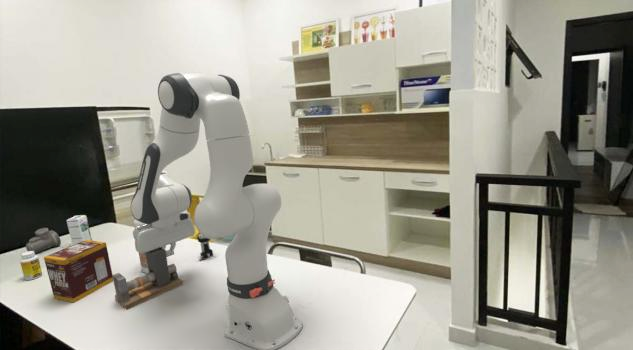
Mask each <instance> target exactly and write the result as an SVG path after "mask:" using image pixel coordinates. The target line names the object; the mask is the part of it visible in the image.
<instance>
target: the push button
mask: <svg viewBox="0 0 633 350" xmlns="http://www.w3.org/2000/svg"><path fill="white" fill-rule="evenodd" d="M196 238H197V242H198V243H200V247H201V252H200V254H199V255H200V256H198V260H199V261H201V260H206V259H208V258H210V257H213V256H214V253H213V252H214V251H213V249H211V247H210V241H211V239H208V238H206V237H204V236H203V235H202V234H201V233H199V235H198V236H197V237H196Z"/></svg>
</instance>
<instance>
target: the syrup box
mask: <svg viewBox="0 0 633 350" xmlns="http://www.w3.org/2000/svg"><path fill="white" fill-rule="evenodd" d="M66 224H67V229H68V233H69V236H70V239H71V240H70V241H71V244H72V245H75V244H77V243H80V242H82V241H84V240H91V241H93V238H92V234H91V231H90V226H89V222H88V217H87V215H86V214H80V215H74V216H73V217H70V218H68V219H66Z"/></svg>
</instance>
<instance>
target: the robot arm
mask: <svg viewBox="0 0 633 350" xmlns="http://www.w3.org/2000/svg"><path fill="white" fill-rule="evenodd" d="M240 95H241V94H240V88H239V85H238V83H237V82H236V81H235V80H234V79H233V78H232V77H230V76H227V75H224V74H212V73H202V72H186V73H185V72H183V73H180V72H176V73H175V72H174V73H170V74H167V75H164V76H163V77H162V78H161V79H160V81H159V84H158V87H157V96H158V97H157V98H158V100H159V104H160V105H161V110H160V118H159V127H158V131H157V134H156V135H155V138H154V139H153V141H152V142H151V143H150V144H149V145H148V146H147V147H146V149H145V152H144V155H143V159H142V163H141V168H140V172H139V176H138V180H137V185H136V189H135V192H134V195H133V197H132V199H131V200H130V201H131V202H130V212H131V214H132V217H133V218H134V220H135V219H136V220H138V221H139V222H142V223H144V225H140V226H137V228H135V227H134V229H133V231H132V236H133V239H134V246H135V247H134V249H135V251H136V252H137V253H138V254H139V253H141V254H143V253H146V252H149V251H151V250H154V249H157V248H162V249H164V248H165V249H164V250H165V253H166V257H167V258H168V257H170V256H173V255H175V249H176V245H177V242H180V241H183V240H185V239H188V238H191V237H194V236H195V234H196V230H197V231H198V232H199V234H202V235H203V236H204V237H206V238H208V239H210V240H214V239H220V238H226V237H229V236H232V235H234V234H235V235H234V237H233V239H232V241H231V242H230V243H229V245H228V246H227V248H226V250H225V255H224V257H225V263H226V264H225V265H226V271H227V272H226V273H227V277H226V287H227V291H228V293H229V295H228V300H227V303H226V327H225V329H224V336H225V337H226V338H228V339H231V340H233V341H236V342H239V343H241V344H243V345H245V346H248V347H250V348H253V349H255V350H277V349H280V348H282V347H283V346H285V345H287V344H288V343H289V342H291V341H292V340H294V339H295V338H296V336H297V335H299V333H300V332H301V331H302V329H303V326H304V324H303V321H302V320H301V319H299V318H298V317H297V316H296V315H295V314H294V313H293V310H292V307H291V305H290V302H289V301H290V300H289V297H288V296H286V295H284V296H283V295H282V294H281V292H279V290H278V289H277V287H275V285H274V284H275V283H276V282H275V279H273V278H272V275H271V273H270V270H269V269H268V260H267V259H268V256H267V244H268V237H269V233H270V229H271V227H272V224H273V222H274V219H275V217H276V216H277V214H278V213H279V212H280V210H281V207H282V198H281V195H280V192H279V190H278V188H277V187H275V186H274V185H272V184H271V183H252V184H249V185H247V186H243V183H244V180H245V177H246V175H247V174H248V173H249V171H251V170H252V168H253V165H254V154H253V149H252V147H253V146H252V141H251V136H250V131H249V125H248V122H247V121H248V120H247V117H246V114H245V111H244V109H243V106H242V103H241V101H240V97H241V96H240ZM201 121H202V122H203V126H204V127H203V128H204V134H205V140H206V145H207V152H208V158H209V167H210V171H209V172H210V174H209V181H208V186H207V189H206V191H205V194H204V195H203V197H202V199H201V200H200V201H199V203H198V204H197V205H196V207H195V210H194V213H193V214H194V215H193V220H192V218H191V213H190V212H188V211H187V210H189V209H190V208H191V205H192V202H193V195H192V191H191V189H189V188H188V186H187V185H185V184H183V183H178V182H176V181H175V180H173V179H172V178H171V176H170V175H169V173H167V172H163V170H165V168H166V167H168V166H169V165H170V164H172V163H173V162H175V161H177V160H178V159H180V158H182V157H185V156H186V155H188V154H189V153H191V152H193V150H194V149H195V148H196V147H197V144H198V141H199V138H200V127H201ZM136 229H137V230H136ZM167 246H170V247H169V249H167ZM166 249H167V250H166Z"/></svg>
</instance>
